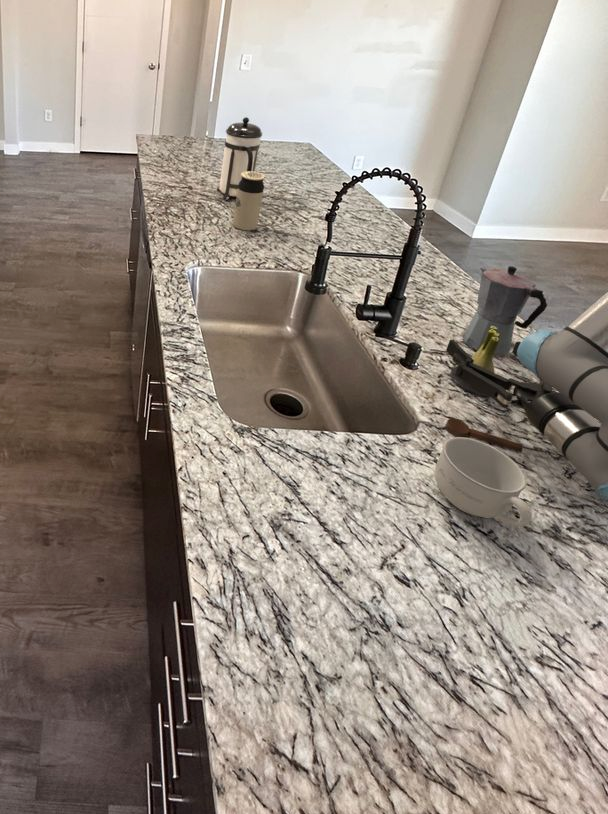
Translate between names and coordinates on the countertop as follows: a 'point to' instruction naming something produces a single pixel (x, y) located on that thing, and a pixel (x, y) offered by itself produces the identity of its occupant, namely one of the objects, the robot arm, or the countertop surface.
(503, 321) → the moka pot
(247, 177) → the travel mug
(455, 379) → the slate coaster
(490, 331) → the fennel bulb
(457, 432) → the wooden spoon
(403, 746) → the countertop surface
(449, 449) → the teacup
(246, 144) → the coffee press
